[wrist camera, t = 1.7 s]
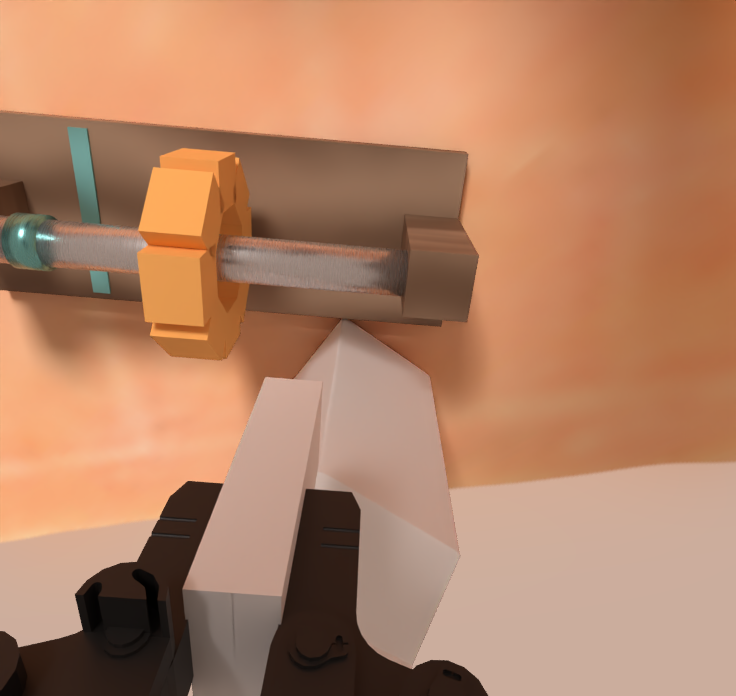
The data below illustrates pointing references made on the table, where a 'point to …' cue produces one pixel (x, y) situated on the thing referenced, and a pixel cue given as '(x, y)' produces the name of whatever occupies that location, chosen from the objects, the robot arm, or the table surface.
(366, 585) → the milk carton
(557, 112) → the table surface
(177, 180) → the ring
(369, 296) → the rack
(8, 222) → the pipe
